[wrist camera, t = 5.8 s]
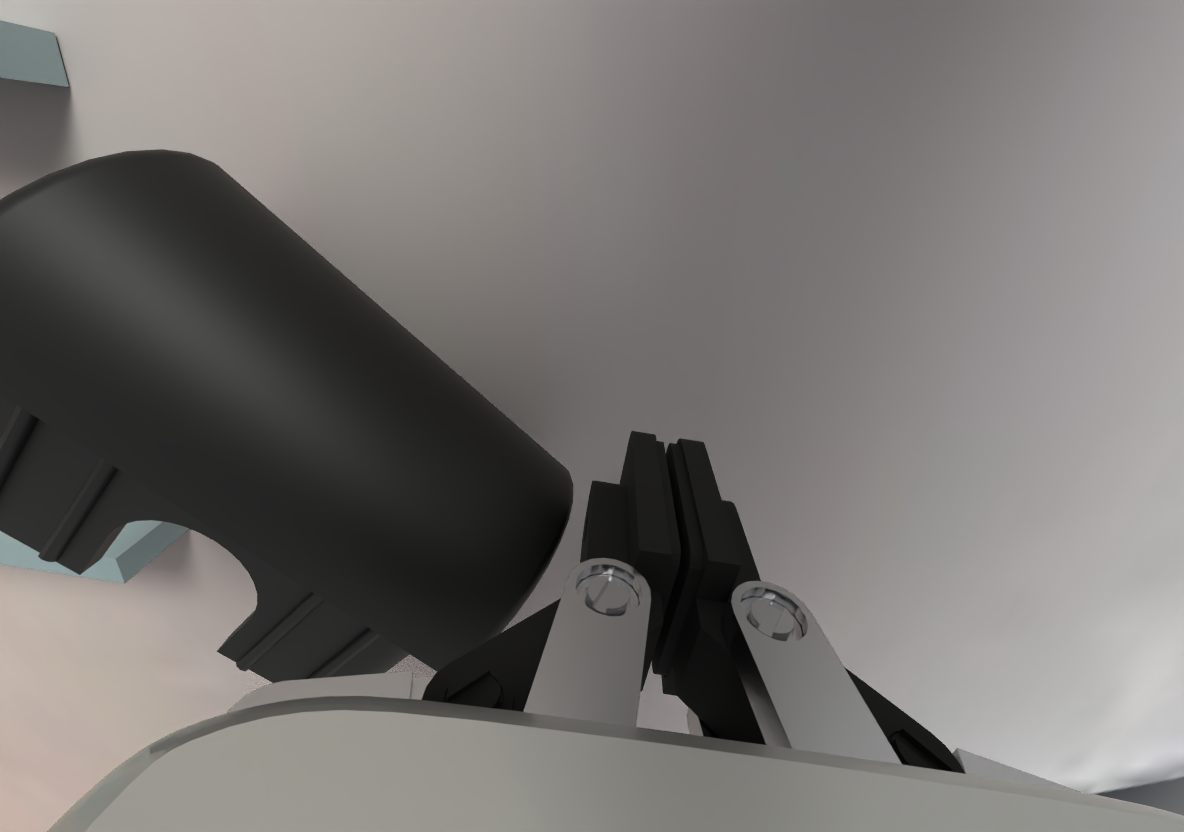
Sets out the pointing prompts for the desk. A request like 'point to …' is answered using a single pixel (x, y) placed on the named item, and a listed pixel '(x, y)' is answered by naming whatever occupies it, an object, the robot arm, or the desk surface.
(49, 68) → the u-shaped bracket with socket
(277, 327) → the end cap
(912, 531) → the desk surface
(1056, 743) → the desk surface
